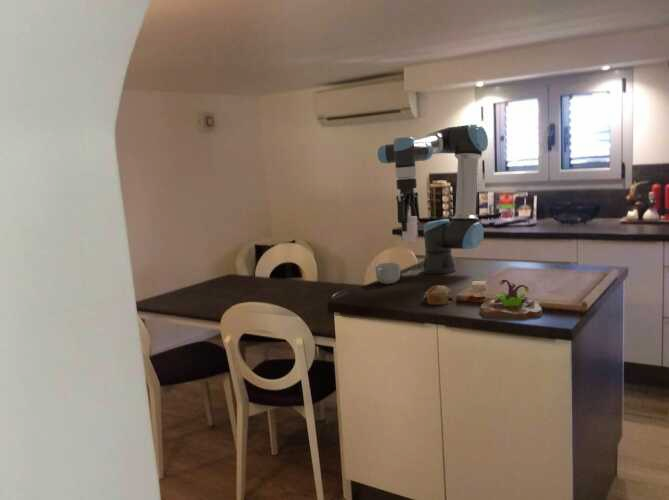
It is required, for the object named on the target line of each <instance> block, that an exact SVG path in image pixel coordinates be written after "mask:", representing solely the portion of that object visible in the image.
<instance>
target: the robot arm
mask: <svg viewBox="0 0 669 500" xmlns="http://www.w3.org/2000/svg"><path fill="white" fill-rule="evenodd" d="M488 138H489V137H488V134H487V131H486V129H485V128H484V127H483V126H482V125H481V124H471V123H470V124H468V125H467V124H465V125H458V126H450V127H445V128H442V129H440V130H439V129H438V130H437V131H433V132H429V133H428V134H427V135H425V136H422V137H418V138H414V137H412V136H405V137H396V138H395V139H394V140H393V143H390V144H382V145H380V146H379V148H377V149H378V150H377V158H378V159H377V160H378V161H379V162H380V163H381V164H387V165H389V164H395V166H394V167H395V177H396V190H399V192H400V193H399V195H396V203H397V205H396V206H397V208H396V209H397V222H398V223H399V224H400V225H401V234H402V236H401V237H402V240H403V241H405V240H410V235H409V223H407V219H408V215H409V206H410V209H411V216H417V220H416V238H418V237H419V234H418V233H419V232H418V220H420V208H419V198H418V197H419V193H418V192H415V191H414V189H416V188H417V186H418V185H417V178H416V177H417V171H416V162H424V161H428V160H429V159H431V158H432V156H433V155H438V154H454V157H455V158H456V160H457V170H456V171H457V172H456V173H457V174H456V176H457V177H456V191H455V192H456V193H455V194H456V197H455V214H454V215H453V216H452V217H451V221H450V218H444V219H438V220H433V221H427V222H426V223H424V225H423V235H424V239H423V240H424V253H425V254H424V255H425V256H424V260H423V264H422V273H424V274H430V275H431V274H432V275H442V274H443V275H444V274H450V273H454V272H456V271H457V264H456V261H455V259H454V257H453V254H452V250H453V249H454V250H466V251H468V250H475V249H478V248H479V247H480V245H481V244H482V242H483V241H484V240H483V239H484V233H485V232H484V231H485V228H484V226H483V224H482V223H481V222H479V221H480V218H479V217H478V216H477V215H476V212H477V211H476V210H477V209H476V208H477V187H478V170H479V167H478V165H479V160H480V159H481V158H482V157H483V152H484V151H486V150H487V148H488V145H489V140H488Z"/></svg>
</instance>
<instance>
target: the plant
mask: <svg viewBox="0 0 669 500" xmlns="http://www.w3.org/2000/svg"><path fill="white" fill-rule="evenodd" d="M505 283H507V287H508V292H507V293H506V292H502V293H501V294H498V293H495V296H496V297H497V298H494V299H489V300H487V301H485V302H483V303H481V305H480V307H479V313H480V314H481V315H483V318H484V319H485V318H486V319H500V320H501V319H502V320H504V319H505V320H514V321H516V320H517V321H518V320H528V319H531V318H532V319H533V318H534V319H537V318H540V317H542V316H543V309H542V302H540V301H538V300H537V299H533V300H531V299H532V298H527V297H526V296H527V293H523V294H521V295H519V293H518V290H519V289H520V288H523V287H524V290H525V292H529V291H530V288H529V287H528V285H527V286H526V285H525V284H520V285H519V284H518V286H516V283H510V281H509V280H508V279H501V280H500V281H499V285H501V286H503V285H504V284H505Z"/></svg>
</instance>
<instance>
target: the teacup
mask: <svg viewBox="0 0 669 500" xmlns="http://www.w3.org/2000/svg"><path fill="white" fill-rule="evenodd" d="M374 267H375V278H376V280H377V281H378V282H380V283H381V284H385V285H388V284H389V285H390V284H391V283H392V284H395V283H397V281H399V280H400V279H401V278H400V277H401V263H396V262H379V263H376V264H375V265H374Z"/></svg>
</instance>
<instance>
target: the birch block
mask: <svg viewBox="0 0 669 500" xmlns="http://www.w3.org/2000/svg"><path fill="white" fill-rule="evenodd" d="M470 287H471V292H472V291H486V289H487V290H488V285H487V281H483V280H482V281H479V280H478V281H477V280H476V281H472V283H471V286H470Z"/></svg>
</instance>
